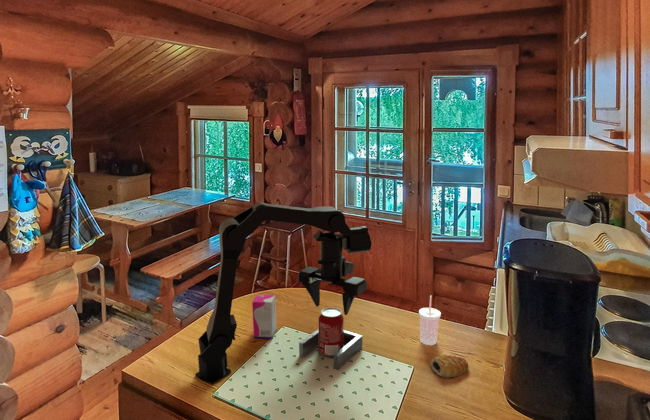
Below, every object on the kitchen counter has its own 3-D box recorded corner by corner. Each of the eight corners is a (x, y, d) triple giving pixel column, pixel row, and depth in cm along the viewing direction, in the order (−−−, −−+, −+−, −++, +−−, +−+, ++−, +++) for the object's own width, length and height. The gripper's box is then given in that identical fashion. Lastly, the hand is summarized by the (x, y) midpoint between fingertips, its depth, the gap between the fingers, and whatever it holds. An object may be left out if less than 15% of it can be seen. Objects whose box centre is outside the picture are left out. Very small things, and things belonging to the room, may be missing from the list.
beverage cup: (441, 338, 128) (444, 293, 125) (436, 348, 123) (439, 302, 120) (420, 333, 131) (422, 290, 128) (414, 343, 126) (417, 297, 122)
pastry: (458, 360, 117) (459, 347, 117) (474, 374, 111) (475, 360, 110) (427, 366, 115) (428, 353, 114) (442, 381, 108) (443, 367, 107)
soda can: (341, 359, 117) (341, 318, 115) (316, 357, 119) (316, 316, 116) (345, 346, 124) (345, 307, 121) (321, 344, 125) (321, 305, 123)
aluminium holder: (337, 370, 113) (337, 356, 112) (299, 355, 119) (299, 342, 118) (362, 348, 123) (362, 335, 122) (325, 336, 130) (325, 323, 129)
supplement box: (276, 329, 134) (275, 294, 131) (272, 339, 128) (271, 302, 126) (258, 328, 134) (256, 293, 132) (253, 338, 129) (251, 302, 126)
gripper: (377, 253, 116) (376, 307, 120) (319, 241, 127) (320, 292, 130) (356, 265, 107) (355, 323, 111) (296, 252, 118) (297, 306, 121)
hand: (331, 310), depth 119 cm, fingers open, 9 cm apart
